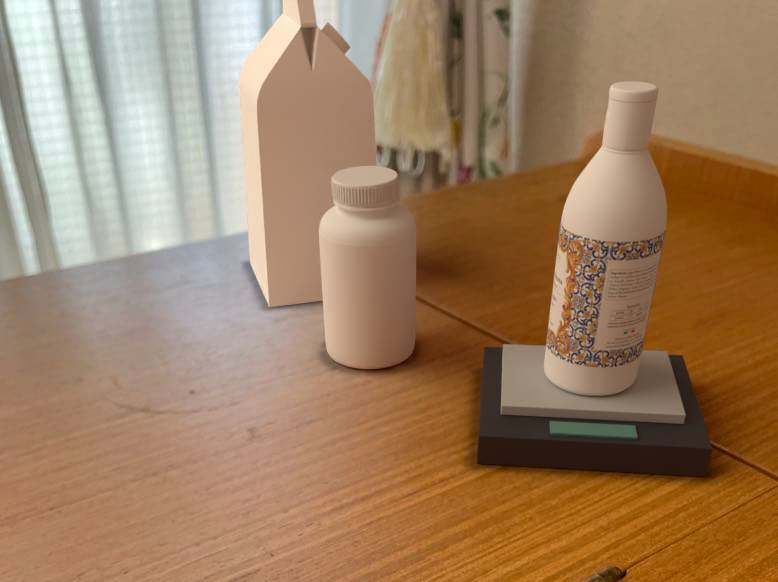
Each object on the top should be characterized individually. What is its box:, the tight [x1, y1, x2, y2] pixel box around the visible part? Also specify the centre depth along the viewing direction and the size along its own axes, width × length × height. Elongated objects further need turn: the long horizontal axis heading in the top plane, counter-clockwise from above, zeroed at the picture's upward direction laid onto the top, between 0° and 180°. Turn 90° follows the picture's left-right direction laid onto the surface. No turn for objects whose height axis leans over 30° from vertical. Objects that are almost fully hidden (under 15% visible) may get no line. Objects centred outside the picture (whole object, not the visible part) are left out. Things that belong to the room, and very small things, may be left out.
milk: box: [238, 0, 378, 308], centre depth 82 cm, size 12×12×26 cm
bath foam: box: [544, 80, 668, 396], centre depth 60 cm, size 7×7×20 cm
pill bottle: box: [319, 165, 417, 370], centre depth 72 cm, size 8×8×15 cm
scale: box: [476, 343, 713, 478], centre depth 66 cm, size 16×14×3 cm
